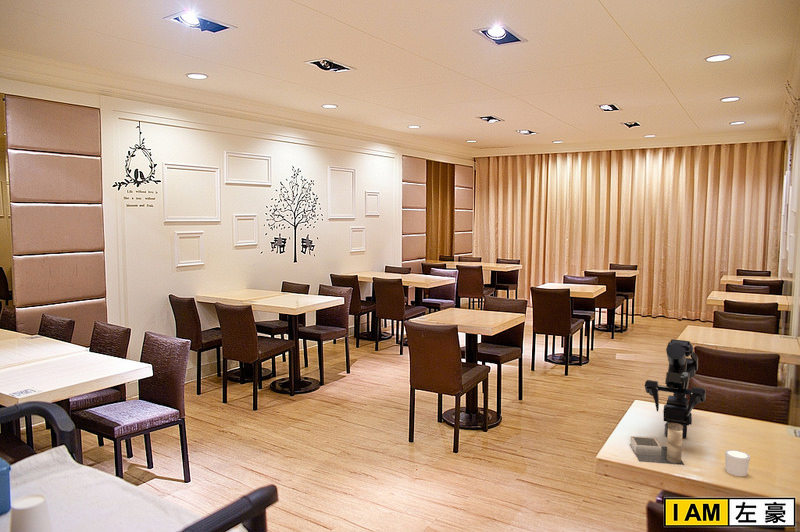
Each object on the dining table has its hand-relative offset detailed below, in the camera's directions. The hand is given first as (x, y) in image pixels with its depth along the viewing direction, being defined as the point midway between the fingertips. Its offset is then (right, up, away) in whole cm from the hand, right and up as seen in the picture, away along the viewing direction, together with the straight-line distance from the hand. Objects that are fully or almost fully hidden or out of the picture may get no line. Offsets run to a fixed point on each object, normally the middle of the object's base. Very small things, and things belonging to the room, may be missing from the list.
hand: (672, 413), depth 190 cm
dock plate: (-6, -15, 0) cm, 16 cm away
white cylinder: (+14, -16, -14) cm, 25 cm away
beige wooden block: (-2, -14, -5) cm, 15 cm away
